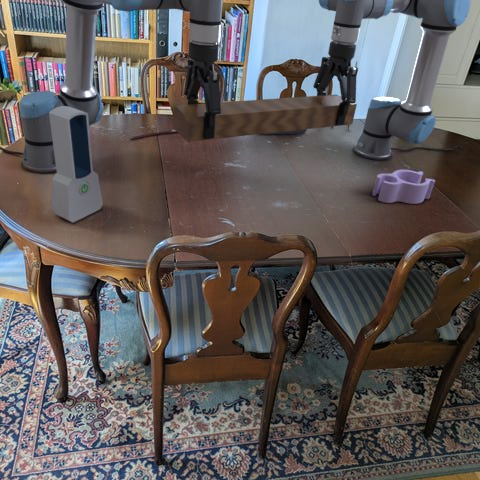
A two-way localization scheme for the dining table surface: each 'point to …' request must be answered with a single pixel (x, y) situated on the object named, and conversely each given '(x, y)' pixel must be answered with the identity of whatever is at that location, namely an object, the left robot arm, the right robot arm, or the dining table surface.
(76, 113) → the electronic device
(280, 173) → the dining table surface
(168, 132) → the sword
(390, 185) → the clip
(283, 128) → the slab
